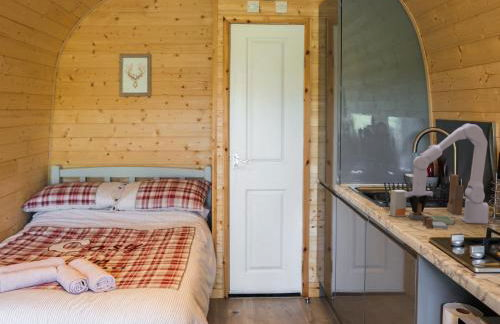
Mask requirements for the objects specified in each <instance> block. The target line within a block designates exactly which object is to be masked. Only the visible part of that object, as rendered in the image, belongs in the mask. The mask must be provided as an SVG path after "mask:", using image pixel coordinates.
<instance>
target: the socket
mask: <svg viewBox="0 0 500 324" xmlns="http://www.w3.org/2000/svg"><path fill="white" fill-rule="evenodd" d="M408 214H409V215H408V217H409V218H410V219H411V221H412V220H413V221H415V220H417V221H423V217H424V216H427V215H426V214H425V213H424V212H421V215H414V212H412V211H411V212H408Z"/></svg>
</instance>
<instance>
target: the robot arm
mask: <svg viewBox="0 0 500 324" xmlns="http://www.w3.org/2000/svg"><path fill="white" fill-rule="evenodd" d="M465 139H467V140H469V141H470V142H471V143H472V144H473V145H474V146H473V147H474V148H473V155H472V163H471V171H470V178H469V179H470V180H469V181H468V183H467V187H466V188H465V190H464V196H465V197H466V199H465V202H464V213H463V217H460V220H462V221H464V222H465V223H466V224H468V223H469V224H489V222H488V220H489V204H488V203H487V202H484V200H485V198H486V197H485V196H486V194H485V192H484V191H485V190H484V188H485V187H484V184H483V181H484V179H483V178H484V173H485V164H486V157H487V149H488V140H487V137H486V135H485V134H484V131H483V129H482V128H481V127H480V126H479V125H478V124H471V123H467V122H466V123H465V124H462V125H461V126H460V127H458V128H457V129H455V130H453V132H452V133H450V134H449V135H448V136H447V137H445V138H444V139H443V140H442V141H440V143H438V144H432V145H429V146H428V149H426V150H425V151H424V152H420V153H419V155H417V156H416V157H415V158H414V159H413V161H412V165H413V166H414V168H413V173H412V174H413V175H412V176H413V177H412V191H407V192H405V193H404V197H407V199H408V201H409V203H410V207H411V212H412V213H414V212H415V213H416V212H417V205H418V203H422V209H421V213H424V211H425V208H426V206H427V203H428V201H429V200H430V197H433V195H434V191H431V190H427V188H426V187H427V173H428V171H427V170H428V169H427V168H428V167H429V165H430V164H432V163H433V162H434V161H436V160H437V159H438V158H440V157H441V156H442V155H443V151H444V150H445V149H447V148H448V147H450V146H452V145H453V144H454V143H455V142H457V141H459V140H460V141H461V140H465Z"/></svg>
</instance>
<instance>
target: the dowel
mask: <svg viewBox="0 0 500 324" xmlns="http://www.w3.org/2000/svg"><path fill="white" fill-rule="evenodd" d="M421 209H422V203H419V202H418V205H417V212H416V213H415V212H413V213H414V215H421V213H422V212H421Z"/></svg>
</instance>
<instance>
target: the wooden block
mask: <svg viewBox="0 0 500 324" xmlns="http://www.w3.org/2000/svg"><path fill="white" fill-rule="evenodd" d="M449 180H450V181H449V194H448V202H447V207H446V210H447V211H449V212H450V213H452V214H453V215H459V216H460V215H462V214H463V213H462V212H463V200H464V192H465V190H464V189H465V186H464V185H459V174H453V173H452V174H450V179H449Z"/></svg>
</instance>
